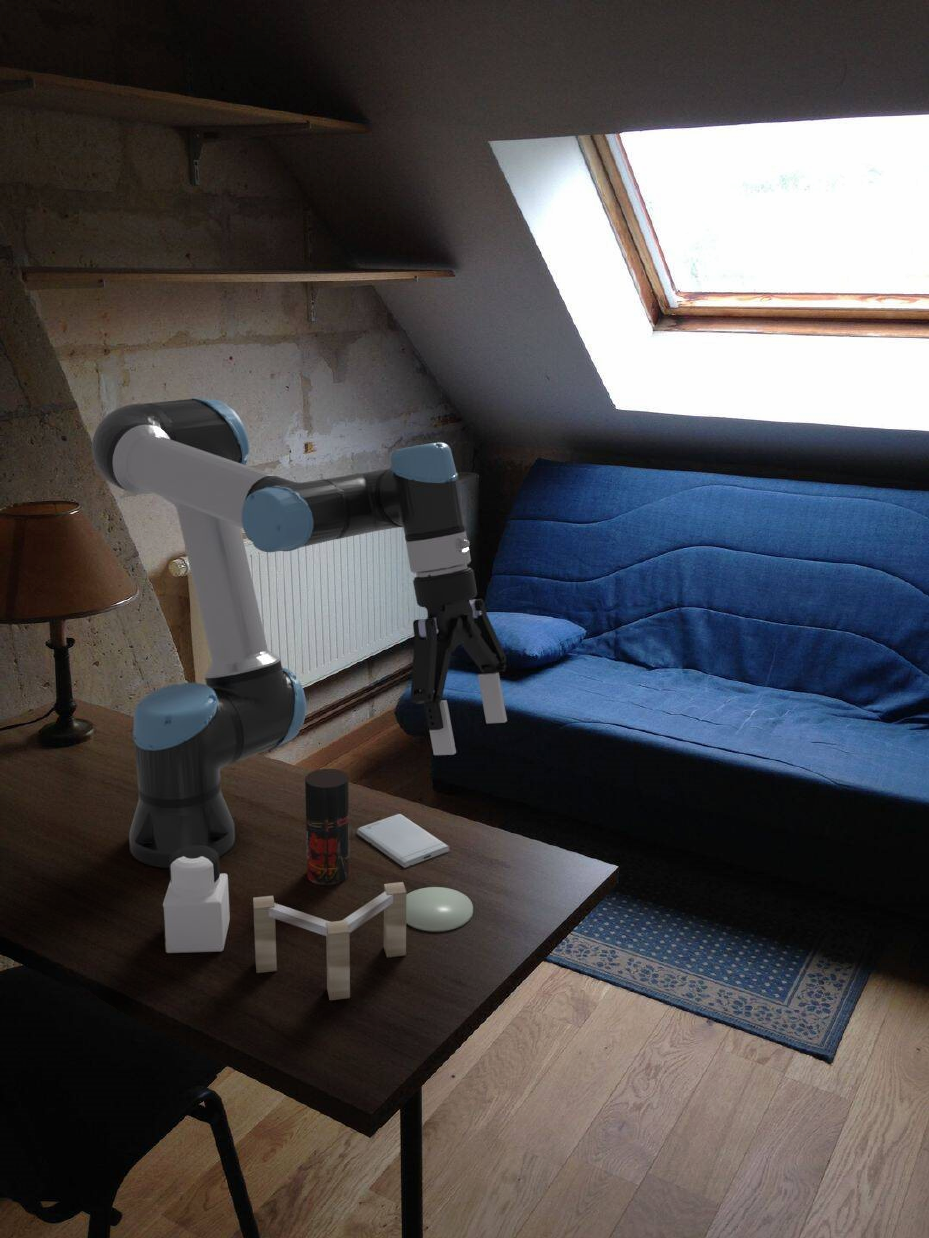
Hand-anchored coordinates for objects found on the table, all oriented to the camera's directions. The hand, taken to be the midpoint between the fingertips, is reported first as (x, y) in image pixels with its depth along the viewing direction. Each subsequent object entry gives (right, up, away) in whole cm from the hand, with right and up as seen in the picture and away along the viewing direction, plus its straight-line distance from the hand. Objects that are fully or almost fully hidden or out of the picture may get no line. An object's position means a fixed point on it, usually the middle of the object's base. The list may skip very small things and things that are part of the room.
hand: (472, 737), depth 137 cm
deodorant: (-20, -21, +18) cm, 35 cm away
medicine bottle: (-35, -26, +3) cm, 44 cm away
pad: (-5, -24, +10) cm, 27 cm away
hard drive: (-10, -19, +28) cm, 35 cm away
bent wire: (-17, -28, -4) cm, 33 cm away
